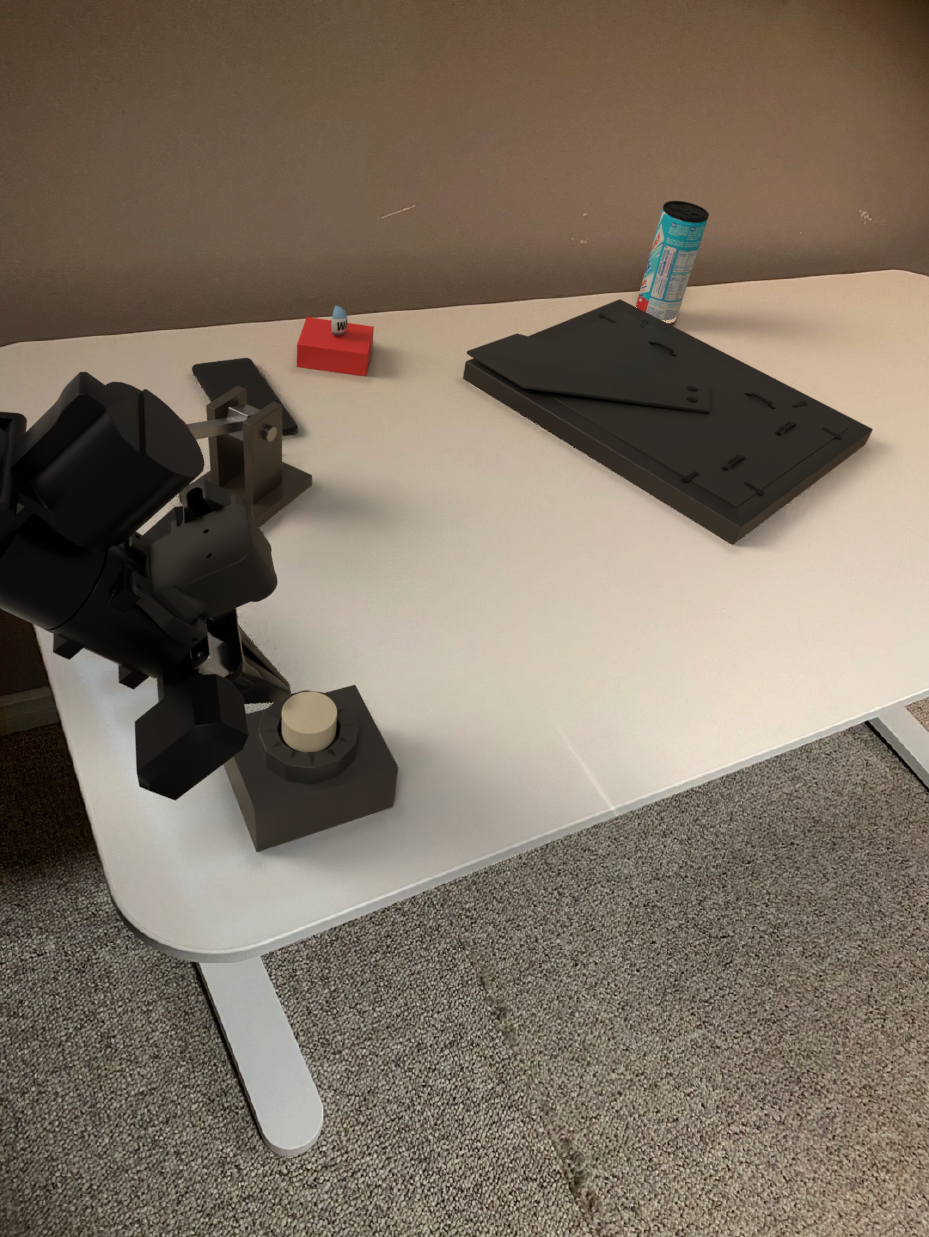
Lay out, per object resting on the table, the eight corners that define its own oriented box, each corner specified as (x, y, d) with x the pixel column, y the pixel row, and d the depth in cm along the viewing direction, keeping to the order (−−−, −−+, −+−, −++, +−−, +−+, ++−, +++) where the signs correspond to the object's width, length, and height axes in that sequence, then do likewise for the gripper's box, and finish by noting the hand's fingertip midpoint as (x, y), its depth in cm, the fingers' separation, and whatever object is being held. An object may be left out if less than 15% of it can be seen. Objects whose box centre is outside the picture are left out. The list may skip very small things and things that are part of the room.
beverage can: (657, 307, 132) (689, 199, 122) (683, 327, 128) (718, 217, 118) (624, 312, 129) (654, 202, 119) (650, 332, 126) (682, 221, 116)
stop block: (256, 852, 62) (254, 796, 58) (222, 761, 67) (218, 703, 63) (393, 807, 66) (401, 751, 62) (352, 724, 71) (356, 667, 67)
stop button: (292, 759, 61) (292, 739, 59) (274, 719, 63) (274, 699, 62) (343, 743, 62) (345, 724, 61) (324, 705, 64) (325, 685, 63)
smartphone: (250, 356, 106) (300, 426, 97) (250, 362, 106) (299, 433, 98) (189, 363, 103) (235, 437, 94) (190, 370, 103) (235, 444, 95)
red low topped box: (372, 348, 113) (375, 298, 108) (365, 376, 108) (369, 325, 103) (306, 338, 112) (307, 288, 108) (296, 366, 107) (297, 315, 103)
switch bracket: (248, 536, 85) (245, 446, 78) (179, 502, 87) (170, 412, 80) (312, 484, 92) (314, 398, 85) (246, 454, 94) (243, 368, 87)
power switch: (169, 464, 74) (175, 426, 73) (138, 449, 75) (144, 411, 74) (265, 443, 85) (272, 410, 84) (237, 430, 86) (243, 397, 85)
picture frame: (462, 378, 110) (732, 545, 94) (466, 350, 108) (744, 517, 92) (615, 314, 128) (864, 445, 112) (622, 289, 126) (878, 419, 109)
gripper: (188, 617, 40) (414, 741, 51) (166, 386, 52) (351, 525, 63) (25, 754, 43) (270, 843, 54) (41, 506, 56) (237, 619, 66)
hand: (285, 693), depth 59 cm, fingers closed
